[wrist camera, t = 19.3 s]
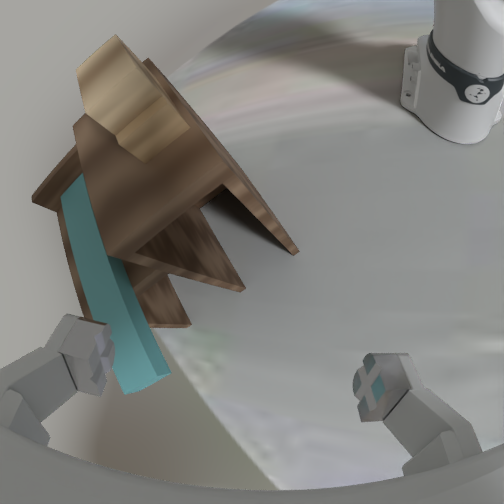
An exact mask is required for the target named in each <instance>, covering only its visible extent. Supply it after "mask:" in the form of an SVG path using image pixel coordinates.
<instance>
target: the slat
mask: <svg viewBox="0 0 504 504" xmlns="http://www.w3.org/2000/svg"><path fill="white" fill-rule="evenodd" d="M61 203H62V208H63V213H64V218H65V222H66V227H67V231H68V235H69V240H70V244H71V248H72V251H73V255H74V259H75V263H76V266H77V270H78V273H79V277H80V280H81V283H82V287H83V290H84V293H85V296H86V299H87V302H88V305H89V308H90V311H91V314H92V317H93V320H95V321H99V322H103V323H107V324H109V325H110V326H111V330H112V334H111V336H110V339H111V340H112V341H113V342H114V346H115V358H114V363H113V366H112V368H113V370H114V372H115V375H116V377H117V379H118V382H119V384H120V385H121V388H122V390H123V392H124V394H129V393H133V392H137V391H140V390H142V389H144V388H146V387H148V386H149V385H151V384H153V383H155V382H157V381H158V380H160V379H162V378H164V377H165V376H167V375H169V374H171V371H170V369H169V367H168V365H167V363H166V361H165V359H164V357H163V355H162V353H161V351H160V349H159V346H158V344H157V342H156V340H155V338H154V336H153V334H152V332H151V329H150V327H149V325H148V323H147V321H146V318H145V316H144V314H143V312H142V309H141V307H140V305H139V302H138V300H137V298H136V295H135V293H134V290H133V288H132V285H131V283H130V281H129V278H128V276H127V273H126V270H125V268H124V265H123V263H122V260H121V259H119V258H115V257H112V256H109V255H107V253H106V250H105V247H104V244H103V241H102V238H101V235H100V232H99V229H98V225H97V222H96V219H95V216H94V212H93V209H92V205H91V202H90V198H89V194H88V191H87V187H86V183H85V179H84V175H83V173H82V174H81V175H80V176H79V177H78V178H77V179H76V180H75V181H74V182H73V184H72V185H71V186H70V187H69V188H68V189H67V190H66V191H65V192H64V193H63V195H62V196H61Z"/></svg>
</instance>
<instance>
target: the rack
mask: <svg viewBox="0 0 504 504" xmlns="http://www.w3.org/2000/svg"><path fill="white" fill-rule="evenodd" d="M76 73H77V78H78V82H79V87H80V91H81V96H82V100H83V104H84V109H85V114H84V115H83V116H82V117H81V118H80V119H79V120H78V121H77V122H76V123H75V124H74V125H73V130H74V135H75V140H76V145H75V146H74V147H73V148H72V149H71V150H70V151H69V152H68V154H67V155H66V156H65V157H64V158H63V159H62V160H61V161H60V162H59V164H58V165H57V166H56V167H55V168H54V169H53V170H52V172H51V173H50V174H49V175H48V176H47V178H46V179H45V180H44V181H43V183H42V184H41V185H40V186H39V187H38V189H37V190H36V191H35V193H34V194H33V195H32V202H33V203H35V204H38V205H40V206H43V207H45V208H48V209H50V210H52V211H55V212H57V216H58V221H59V226H60V230H61V236H62V240H63V245H64V249H65V252H66V257H67V261H68V265H69V269H70V272H71V276H72V279H73V283H74V286H75V290H76V293H77V296H78V300H79V303H80V306H81V309H82V312H83V315H84V318H87V319H91V320H93V317H92V314H91V311H90V308H89V305H88V302H87V299H86V296H85V293H84V290H83V287H82V283H81V280H80V277H79V273H78V270H77V266H76V263H75V259H74V255H73V251H72V248H71V244H70V240H69V235H68V231H67V227H66V222H65V218H64V213H63V208H62V203H61V196H62V195H63V193H64V192H65V191H66V190H67V189H68V188H69V187H70V186H71V185H72V184H73V182H74V181H75V180H76V179H77V178H78V177H79V176H80V175H81V174H82V173H83V175H84V179H85V183H86V187H87V191H88V194H89V198H90V202H91V205H92V209H93V212H94V216H95V219H96V222H97V225H98V229H99V232H100V235H101V238H102V241H103V244H104V247H105V250H106V253H107V255H109V256H112V257H115V258H119V259H121V260H122V263H123V265H124V268H125V270H126V273H127V276H128V278H129V281H130V283H131V285H132V288H133V290H134V293H135V295H136V298H137V300H138V302H139V305H140V307H141V309H142V312H143V314H144V316H145V318H146V321H147V323H148V325H149V327H150V328H187V327H189V326H190V325H192V324H191V322H190V320H189V318H188V316H187V314H186V312H185V310H184V308H183V306H182V304H181V302H180V300H179V298H178V296H177V294H176V292H175V290H174V288H173V286H172V284H171V282H170V280H169V278H168V276H167V275H168V274H169V273H170V274H174V275H177V276H181V277H185V278H188V279H192V280H196V281H199V282H203V283H207V284H211V285H214V286H218V287H222V288H226V289H230V290H233V291H237V292H241V291H243V290H244V289H246V287H245V286H244V284H243V282H242V281H241V279H240V277H239V276H238V274H237V272H236V271H235V269H234V267H233V265H232V264H231V262H230V260H229V259H228V257H227V255H226V253H225V252H224V250H223V248H222V247H221V245H220V243H219V241H218V240H217V238H216V236H215V235H214V233H213V231H212V229H211V228H210V226H209V224H208V222H207V221H206V219H205V217H204V215H203V214H202V212H201V210H200V208H201V207H202V206H204V205H205V204H206V203H207V202H209V201H210V200H211V199H213V198H214V197H215V196H217V195H218V194H219V193H221V192H222V191H223V190H225V189H226V188H228V189H229V190H230V191H231V192H232V193H233V194H234V195H235V196H236V197H237V198H238V199H239V200H240V201H241V202H242V203H243V204H244V205H245V206H246V207H247V208H248V209H249V211H250V212H251V213H252V214H253V215H254V216H255V217H256V218H257V219H258V220H259V221H260V222H261V223H262V224H263V225H264V226H265V227H266V228H267V229H268V230H269V231H270V232H271V233H272V234H273V235H274V236H275V237H276V238H277V239H278V240H279V241H280V242H281V243H282V244H283V245H284V246H285V247H286V248H287V249H288V250H289V251H290V253H291V254H292V255H293V256H294V255H295V254H297V253H298V252H300V251H299V250H298V248H297V247H296V245H295V244H294V243H293V241H292V240H291V238H290V237H289V235H288V234H287V232H286V231H285V229H284V228H283V227H282V225H281V224H280V222H279V221H278V219H277V218H276V217H275V215H274V214H273V212H272V211H271V209H270V208H269V207H268V205H267V204H266V202H265V201H264V200H263V198H262V197H261V195H260V194H259V192H258V191H257V190H256V188H255V187H254V185H253V184H252V183H251V181H250V180H249V179H248V177H247V176H246V174H245V173H244V172H243V170H242V169H241V168H240V166H239V165H238V164H237V163H236V161H235V160H234V159H233V158H232V156H231V155H230V154H229V153H228V151H227V150H226V149H225V148H224V146H223V145H222V144H221V143H220V142H219V140H218V139H217V138H216V137H215V135H214V134H213V133H212V132H211V131H210V129H209V128H208V127H207V126H206V124H205V123H204V122H203V121H202V120H201V118H200V117H199V116H198V115H197V114H196V112H195V111H194V110H193V109H192V108H191V106H190V105H189V104H188V103H187V102H186V101H185V99H184V98H183V97H182V96H181V95H180V93H179V92H178V91H177V90H176V89H175V88H174V86H173V85H172V84H171V83H170V82H169V81H168V79H167V78H166V77H165V76H164V75H163V74H162V73H161V72H160V70H159V69H158V68H157V67H156V66H155V65H154V64H153V62H152V61H151V60H150V59H149V58H147V59H146V60H145V61H143V62H141V61H140V60H139V59H138V58H137V57H136V55H135V54H134V53H133V52H132V51H131V50H130V49H129V48H128V47H127V46H126V45H125V44H124V43H123V42H122V41H121V39H120V38H119V37H118V36H117V35H114V36H113V37H112V38H110V39H109V40H108V41H107V42H106V43H105V44H103V45H102V46H101V47H100V48H99V49H98V50H97V51H95V52H94V53H93V54H92V55H91V56H90V57H89V58H88V59H87V60H85V61H84V62H83V63H82V65H80V66H79V67H78V68H77V69H76Z"/></svg>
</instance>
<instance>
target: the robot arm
mask: <svg viewBox="0 0 504 504" xmlns="http://www.w3.org/2000/svg"><path fill="white" fill-rule="evenodd" d="M433 26H434V27H433V30H432V31H431V33H430V34H429V35H423V36H421V37H419V38H418V41H417V45H416V46H411V47H408V48H406V49H405V53H404V67H403V79H402V90H401V99H400V102H401V105H402V106H403V107H405V108H406V109H408V110H409V111H411V112H413V113H415V114H416V115H417V116H418V117H419V118H420V119H421V120H422V121H423V122H424V124H425V125H426V126H427V127H428V128H430V129H431V130H432V131H433V132H435V133H436V134H438V135H439V136H441V137H443V138H445V139H447V140H449V141H452V142H456V143H461V144H473V143H477V142H479V141H481V140H483V139H484V138H485V137H486V136H487V135H488V133H489V131H490V129H491V127H492V126H493V125H494V124H496V123H498V122H499V121H500V119H501V116H502V114H501V112H500V110H499V109H500V106H501V103H502V100H503V97H504V0H434V25H433ZM408 96H410V97H408ZM111 334H112V330H111V326H110V325H109V324H107V323H103V322H99V321H95V320H91V319H87V318H84V317H79V316H75V315H71V314H66V315H64V316H63V318H62V320H61V321H60V323H59V324H58V326H57V327H56V329H55V331H54V332H53V334H52V335H51V337H50V339H49V340H48V342H47V344H46V345H45V347H44V348H42V347H40V348H38V349H36V350H34V351H32V352H30V353H29V354H27V355H25V356H23V357H21V358H20V359H18V360H16V361H14V362H12V363H11V364H9V365H7V366H6V367H4V368H2V369H0V504H504V443H503V444H501V445H499V446H497V447H494V448H492V449H489V450H487V451H484V452H482V449H481V447H480V444H479V442H478V439H477V437H476V434H475V432H474V430H473V427H472V425H471V423H469V422H468V421H467V420H466V419H465V418H463V417H462V416H461V415H460V414H459V413H457V412H456V411H455V410H454V409H453V408H451V407H450V406H449V405H448V404H446V403H445V402H444V401H443V400H442V399H440V398H439V397H438V396H437V395H436V394H434V393H433V392H432V391H431V390H430V389H428V388H424V386H423V383H422V381H421V379H420V377H419V374H418V372H417V370H416V368H415V365H414V363H413V361H412V359H411V357H410V355H409V354H408V353H369V354H367V355H366V356H365V358H364V359H363V364H364V366H362V367H361V368H359V369H358V370H357V372H356V373H355V375H354V379H353V392H354V396H355V397H356V398H358V399H359V400H360V402H359V404H358V406H357V407H358V411H359V415H360V419H361V422H372V421H383V423H384V424H385V425H386V427H387V428H388V429H389V430H390V431H391V432H392V434H393V435H394V436H395V437H396V438H397V439H398V441H399V442H400V443H401V444H402V445H403V446H404V448H405V449H406V450H407V451H408V452H409V453H410V455H411V456H412V457H413V458H411V459H410V460H409V461H408V462H406V463H405V464H404V465H403V467H402V470H403V474H404V476H402V477H398V478H393V479H388V480H383V481H377V482H371V483H365V484H358V485H351V486H343V487H333V488H322V489H307V490H268V491H267V490H240V489H225V488H214V487H204V486H196V485H188V484H182V483H175V482H169V481H164V480H159V479H153V478H149V477H144V476H139V475H135V474H131V473H127V472H123V471H119V470H115V469H112V468H108V467H104V466H101V465H97V464H95V463H91V462H88V461H85V460H82V459H79V458H76V457H73V456H70V455H68V454H65V453H62V452H60V451H57V450H55V449H52V448H50V447H47V445H48V442H49V439H50V436H49V434H48V432H47V431H46V430H45V428H44V427H43V426H42V425H41V422H42V421H43V420H44V419H46V418H47V417H48V416H49V415H50V414H52V413H53V412H54V411H55V410H56V409H58V408H59V407H60V406H61V405H63V404H64V403H65V402H66V401H67V400H69V399H70V398H71V397H72V396H73V395H74V394H76V393H77V391H80V392H84V393H88V394H92V395H96V396H100V397H101V395H102V392H103V390H104V387H105V385H106V382H107V379H106V376H105V374H106V373H107V372H109V371H110V370H111V369H112V366H113V363H114V358H115V346H114V342H113V341H112V340H111V339H110V336H111Z"/></svg>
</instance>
